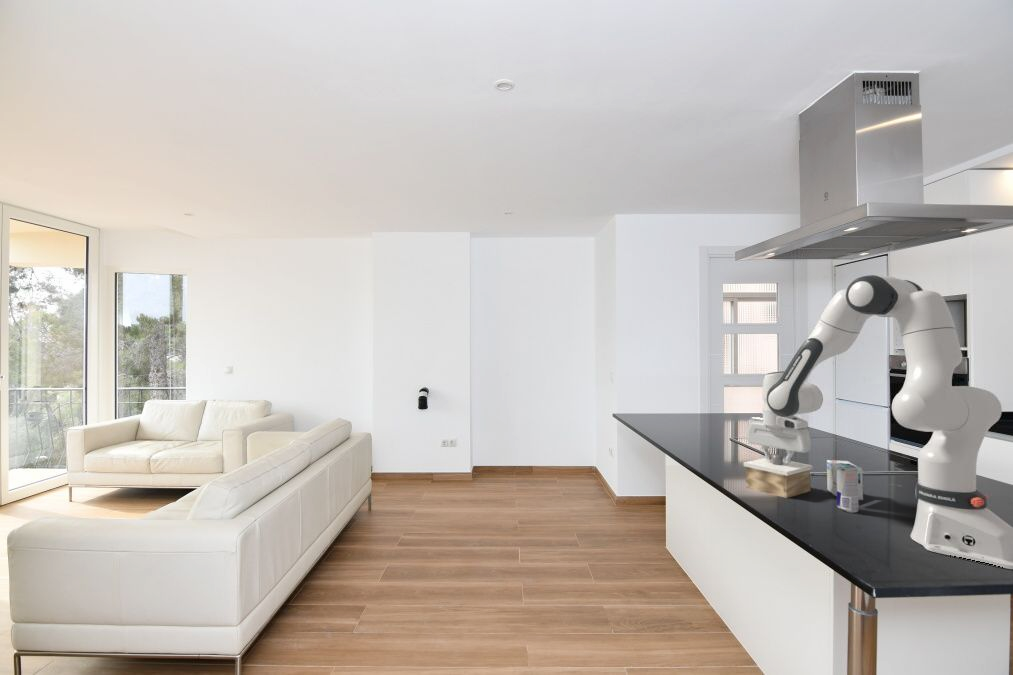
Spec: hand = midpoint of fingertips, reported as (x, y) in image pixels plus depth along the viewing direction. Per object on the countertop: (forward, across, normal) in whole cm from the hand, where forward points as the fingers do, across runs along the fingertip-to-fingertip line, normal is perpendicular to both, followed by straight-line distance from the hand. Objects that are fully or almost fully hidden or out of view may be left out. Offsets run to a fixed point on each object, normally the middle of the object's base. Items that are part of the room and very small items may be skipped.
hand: (777, 461), depth 175 cm
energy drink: (+10, +22, -1) cm, 24 cm away
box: (+10, 0, 0) cm, 10 cm away
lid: (+3, 0, 0) cm, 3 cm away
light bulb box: (+10, +15, +12) cm, 22 cm away
